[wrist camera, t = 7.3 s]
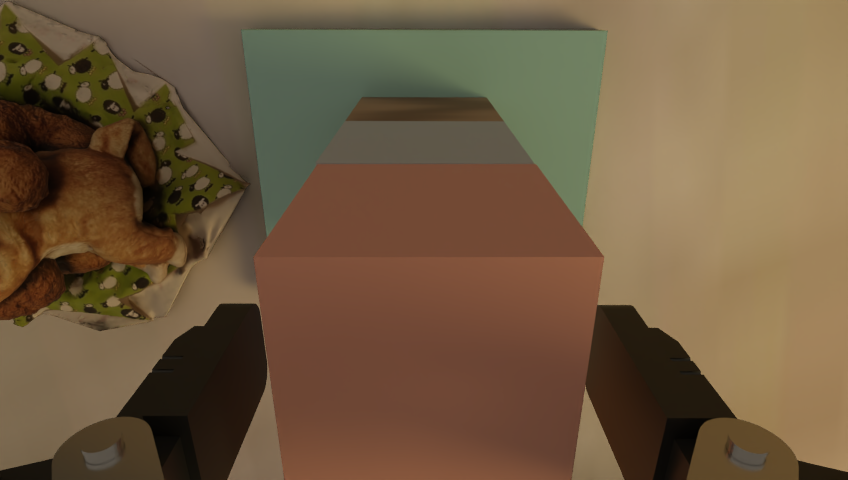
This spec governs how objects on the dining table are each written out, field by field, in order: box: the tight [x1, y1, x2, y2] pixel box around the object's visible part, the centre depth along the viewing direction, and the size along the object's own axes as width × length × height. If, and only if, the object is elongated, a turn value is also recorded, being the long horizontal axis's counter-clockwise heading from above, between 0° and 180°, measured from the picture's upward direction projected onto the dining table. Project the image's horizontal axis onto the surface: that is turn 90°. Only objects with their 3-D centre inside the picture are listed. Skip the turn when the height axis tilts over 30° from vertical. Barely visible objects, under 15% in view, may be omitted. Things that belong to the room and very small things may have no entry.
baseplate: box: [241, 29, 608, 237], centre depth 23 cm, size 14×12×1 cm
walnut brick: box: [345, 97, 503, 121], centre depth 20 cm, size 5×7×5 cm
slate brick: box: [316, 121, 534, 166], centre depth 16 cm, size 5×7×5 cm
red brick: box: [253, 164, 604, 480], centre depth 11 cm, size 5×7×5 cm
